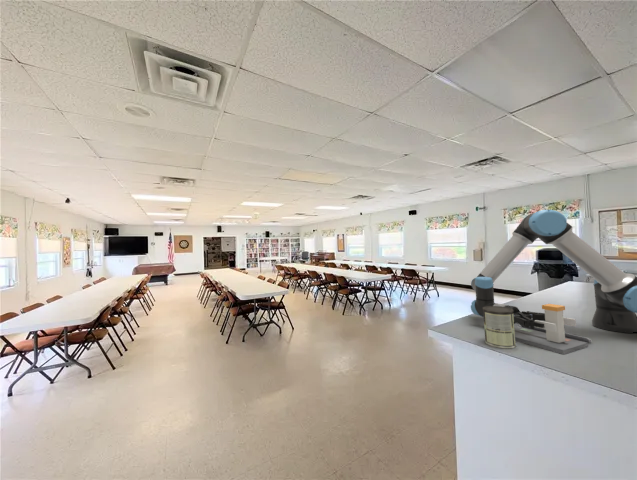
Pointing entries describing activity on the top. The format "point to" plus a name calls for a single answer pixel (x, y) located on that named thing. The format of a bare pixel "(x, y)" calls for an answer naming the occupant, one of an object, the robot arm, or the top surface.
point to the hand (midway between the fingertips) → (565, 325)
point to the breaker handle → (555, 322)
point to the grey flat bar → (565, 335)
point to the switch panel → (547, 341)
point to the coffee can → (499, 326)
